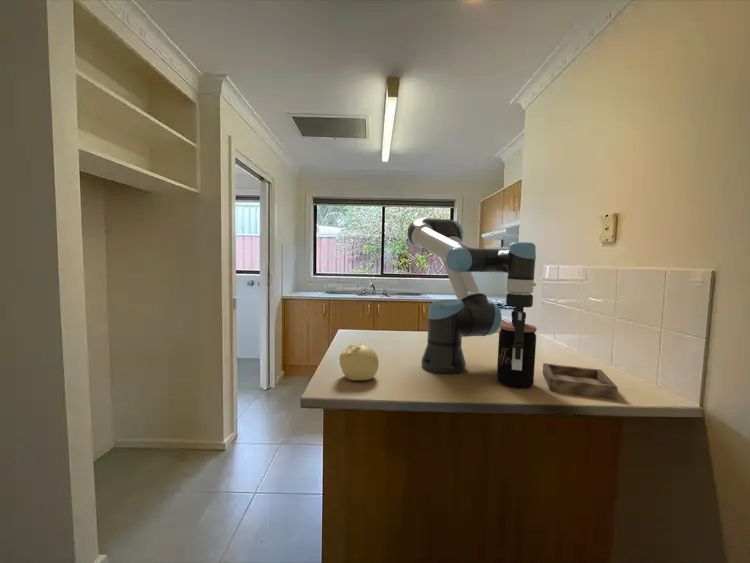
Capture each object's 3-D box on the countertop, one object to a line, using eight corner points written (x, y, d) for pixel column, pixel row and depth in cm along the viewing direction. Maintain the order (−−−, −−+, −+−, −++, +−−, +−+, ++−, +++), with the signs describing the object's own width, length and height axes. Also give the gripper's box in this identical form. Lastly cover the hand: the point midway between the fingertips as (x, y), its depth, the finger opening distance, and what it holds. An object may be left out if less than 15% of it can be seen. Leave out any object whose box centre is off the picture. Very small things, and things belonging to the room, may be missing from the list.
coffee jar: (491, 377, 116) (494, 322, 115) (523, 377, 116) (526, 322, 115) (505, 389, 105) (508, 328, 104) (540, 389, 106) (544, 329, 105)
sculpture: (347, 370, 119) (348, 338, 118) (382, 374, 115) (383, 341, 114) (333, 381, 108) (334, 346, 107) (371, 386, 104) (372, 350, 103)
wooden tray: (549, 390, 105) (550, 378, 105) (542, 373, 121) (543, 363, 121) (616, 399, 100) (617, 387, 100) (600, 380, 116) (600, 369, 116)
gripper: (537, 297, 97) (532, 377, 98) (529, 291, 119) (526, 356, 120) (507, 296, 99) (503, 373, 101) (505, 289, 121) (502, 353, 122)
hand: (515, 364), depth 110 cm, fingers closed on coffee jar, 11 cm apart
